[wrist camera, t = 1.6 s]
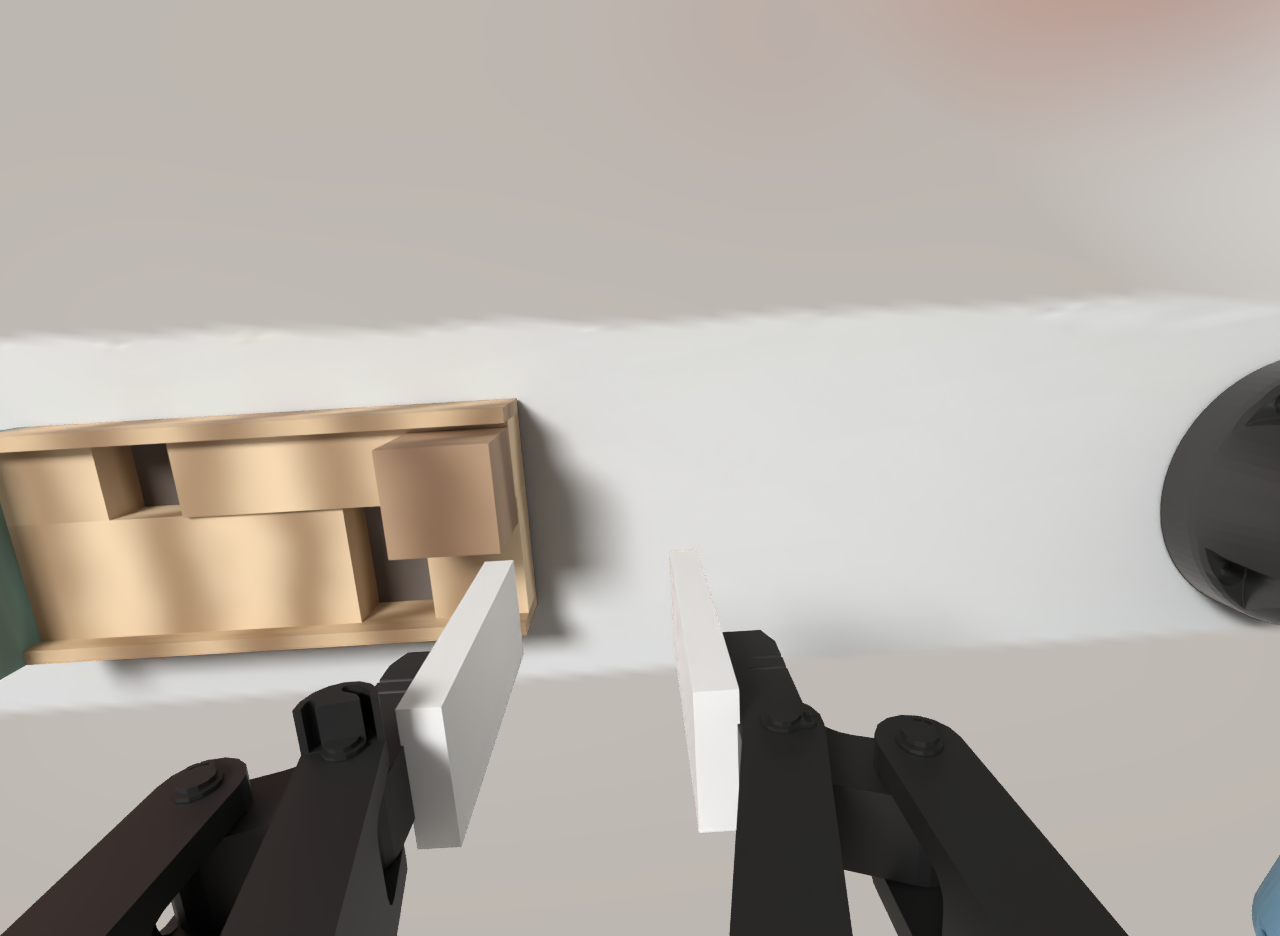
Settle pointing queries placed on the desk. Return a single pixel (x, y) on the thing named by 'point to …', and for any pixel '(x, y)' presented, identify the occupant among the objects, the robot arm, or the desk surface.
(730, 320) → the desk surface
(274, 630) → the tray
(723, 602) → the desk surface
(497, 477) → the block
